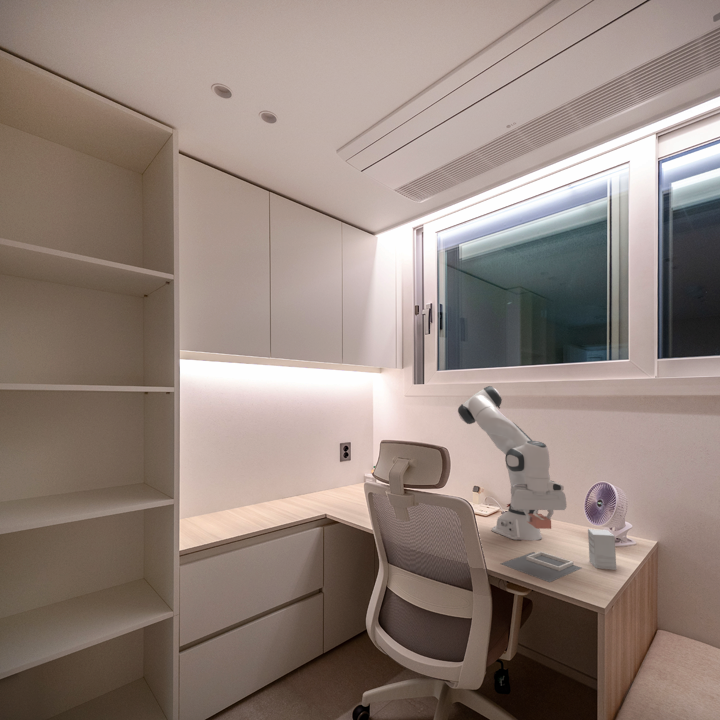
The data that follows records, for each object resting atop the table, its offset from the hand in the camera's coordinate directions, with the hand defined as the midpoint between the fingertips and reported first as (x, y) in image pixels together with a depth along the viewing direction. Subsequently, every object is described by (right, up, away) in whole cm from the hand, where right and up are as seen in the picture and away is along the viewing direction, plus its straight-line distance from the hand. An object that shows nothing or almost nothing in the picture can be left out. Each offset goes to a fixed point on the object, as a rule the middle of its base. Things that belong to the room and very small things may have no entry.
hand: (538, 521), depth 160 cm
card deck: (0, -1, 0) cm, 1 cm away
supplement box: (+24, -17, -1) cm, 29 cm away
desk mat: (0, -16, -2) cm, 17 cm away
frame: (+5, -16, +2) cm, 17 cm away
